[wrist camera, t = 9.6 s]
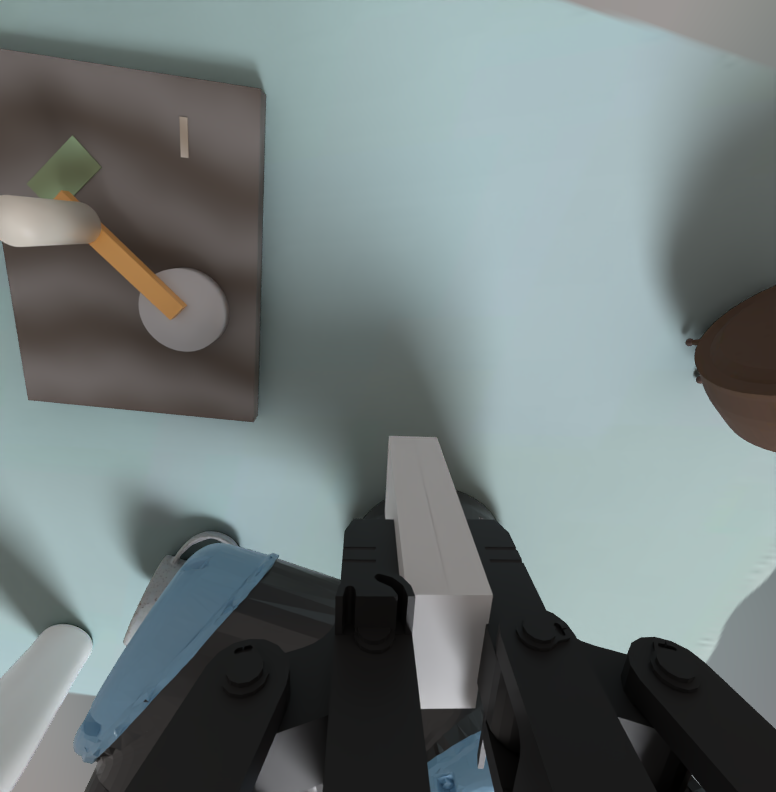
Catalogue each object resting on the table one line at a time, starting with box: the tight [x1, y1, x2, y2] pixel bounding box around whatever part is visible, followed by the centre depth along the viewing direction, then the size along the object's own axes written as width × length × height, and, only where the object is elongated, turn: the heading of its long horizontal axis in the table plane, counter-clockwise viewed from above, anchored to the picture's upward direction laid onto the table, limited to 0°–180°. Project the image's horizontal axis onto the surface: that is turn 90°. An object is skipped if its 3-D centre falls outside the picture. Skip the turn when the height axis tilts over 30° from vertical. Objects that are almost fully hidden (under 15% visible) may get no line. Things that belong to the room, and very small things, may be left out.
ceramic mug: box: [123, 531, 238, 646], centre depth 41 cm, size 11×8×8 cm
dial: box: [0, 190, 229, 352], centre depth 29 cm, size 13×6×8 cm, turn 41°
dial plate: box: [0, 49, 266, 422], centre depth 33 cm, size 24×18×2 cm
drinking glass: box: [0, 624, 93, 792], centre depth 40 cm, size 7×7×15 cm
